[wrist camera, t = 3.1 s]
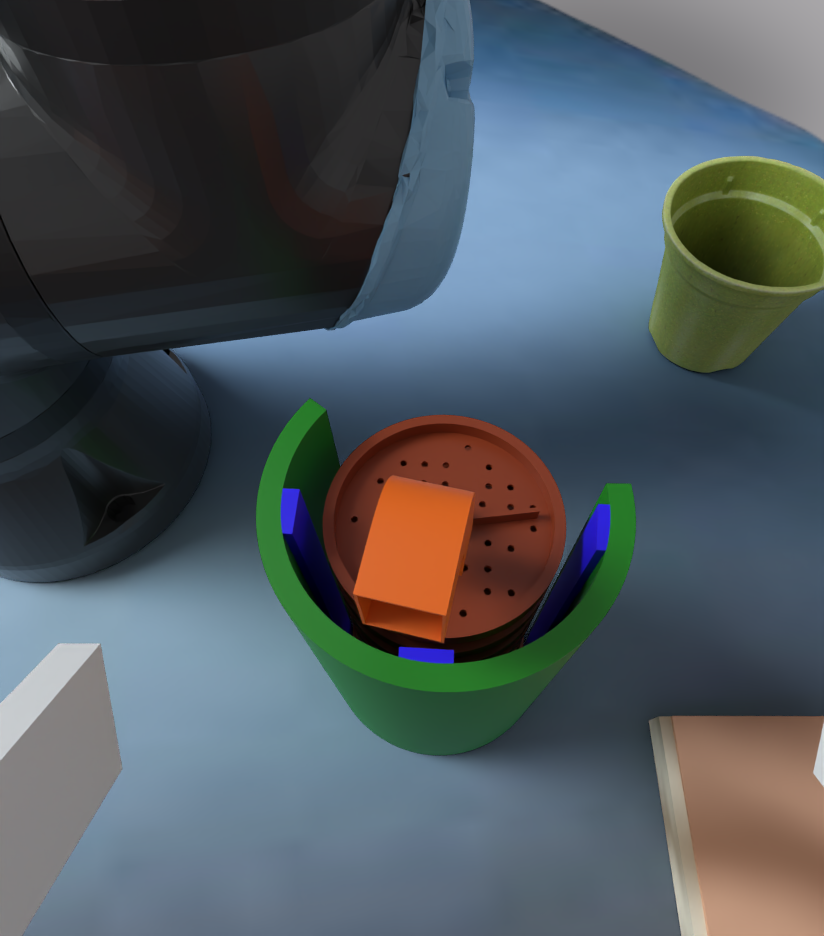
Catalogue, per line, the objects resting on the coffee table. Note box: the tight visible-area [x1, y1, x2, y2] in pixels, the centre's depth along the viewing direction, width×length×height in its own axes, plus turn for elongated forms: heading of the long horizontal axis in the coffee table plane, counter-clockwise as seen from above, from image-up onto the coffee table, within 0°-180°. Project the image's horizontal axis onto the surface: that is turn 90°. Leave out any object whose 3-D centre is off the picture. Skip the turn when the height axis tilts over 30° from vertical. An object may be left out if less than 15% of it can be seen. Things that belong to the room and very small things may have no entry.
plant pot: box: [649, 156, 824, 373], centre depth 36 cm, size 9×9×9 cm
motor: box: [256, 398, 636, 755], centre depth 22 cm, size 10×9×20 cm
